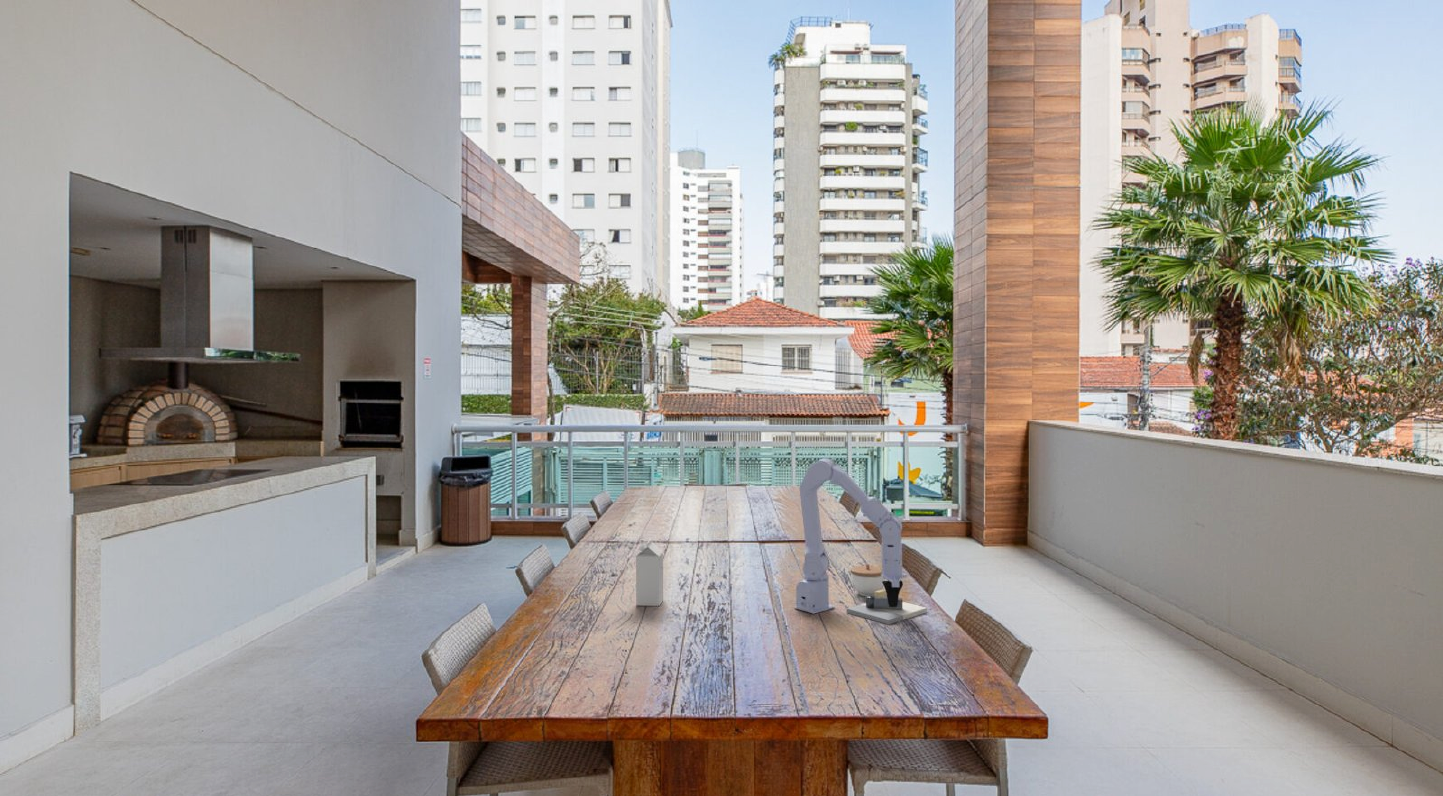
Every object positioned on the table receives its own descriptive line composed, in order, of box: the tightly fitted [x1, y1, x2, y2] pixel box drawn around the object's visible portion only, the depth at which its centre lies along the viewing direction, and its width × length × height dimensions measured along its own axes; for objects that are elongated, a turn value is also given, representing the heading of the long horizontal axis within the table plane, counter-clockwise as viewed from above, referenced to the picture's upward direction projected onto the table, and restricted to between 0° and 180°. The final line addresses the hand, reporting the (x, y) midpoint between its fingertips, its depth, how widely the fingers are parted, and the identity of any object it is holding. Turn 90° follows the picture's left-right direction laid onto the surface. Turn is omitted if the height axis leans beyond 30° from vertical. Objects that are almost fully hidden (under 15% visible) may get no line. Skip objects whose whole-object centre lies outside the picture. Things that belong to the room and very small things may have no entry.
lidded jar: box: [850, 563, 886, 597], centre depth 242 cm, size 11×11×9 cm
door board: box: [846, 589, 928, 625], centre depth 221 cm, size 18×15×4 cm
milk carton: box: [635, 538, 664, 607], centre depth 232 cm, size 7×7×19 cm
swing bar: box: [865, 596, 903, 609], centre depth 221 cm, size 10×3×3 cm, turn 76°
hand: (892, 606), depth 219 cm, fingers closed, pressing on swing bar
